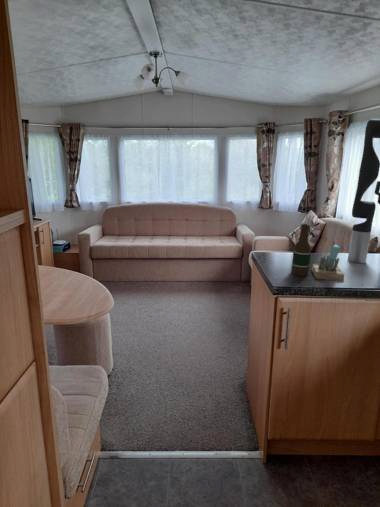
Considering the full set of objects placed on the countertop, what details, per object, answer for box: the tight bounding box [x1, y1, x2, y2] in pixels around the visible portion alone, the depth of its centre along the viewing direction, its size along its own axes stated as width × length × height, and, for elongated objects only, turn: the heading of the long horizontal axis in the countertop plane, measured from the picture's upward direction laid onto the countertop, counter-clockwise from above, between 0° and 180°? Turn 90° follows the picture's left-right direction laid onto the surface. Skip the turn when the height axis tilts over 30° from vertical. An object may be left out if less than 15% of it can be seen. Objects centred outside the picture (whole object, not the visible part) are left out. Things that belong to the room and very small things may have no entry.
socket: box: [311, 254, 345, 282], centre depth 161 cm, size 14×12×9 cm
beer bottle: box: [291, 223, 312, 277], centre depth 160 cm, size 8×8×24 cm
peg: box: [325, 244, 341, 270], centre depth 156 cm, size 3×3×14 cm
